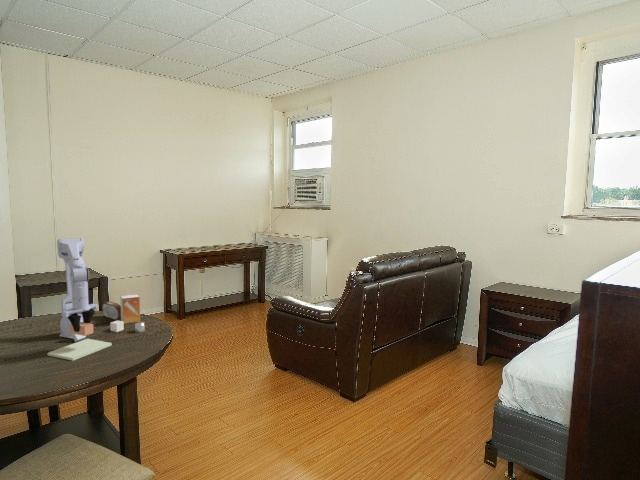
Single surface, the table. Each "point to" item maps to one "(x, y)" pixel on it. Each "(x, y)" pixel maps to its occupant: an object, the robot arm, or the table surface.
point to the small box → (130, 308)
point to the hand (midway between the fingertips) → (81, 329)
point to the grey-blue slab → (77, 337)
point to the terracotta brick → (83, 329)
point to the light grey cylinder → (140, 327)
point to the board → (79, 349)
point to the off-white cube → (117, 326)
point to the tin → (112, 310)
